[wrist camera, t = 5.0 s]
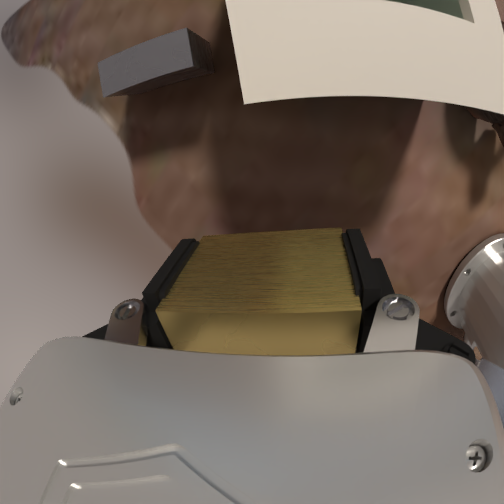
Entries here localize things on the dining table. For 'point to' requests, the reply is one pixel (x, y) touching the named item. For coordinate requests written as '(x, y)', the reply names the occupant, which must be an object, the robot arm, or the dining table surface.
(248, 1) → the cream slotted box
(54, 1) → the dining table surface
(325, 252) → the block
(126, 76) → the block
